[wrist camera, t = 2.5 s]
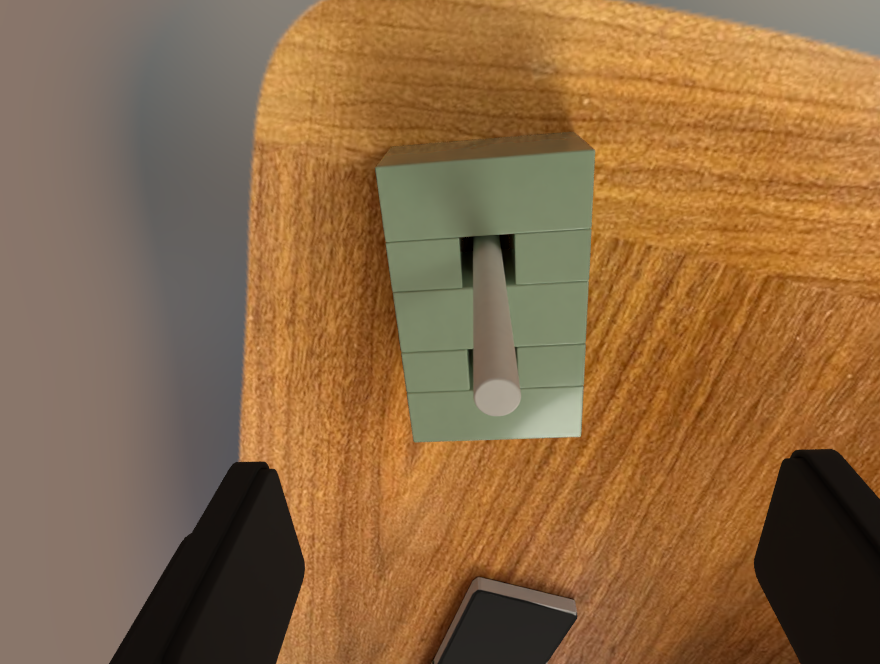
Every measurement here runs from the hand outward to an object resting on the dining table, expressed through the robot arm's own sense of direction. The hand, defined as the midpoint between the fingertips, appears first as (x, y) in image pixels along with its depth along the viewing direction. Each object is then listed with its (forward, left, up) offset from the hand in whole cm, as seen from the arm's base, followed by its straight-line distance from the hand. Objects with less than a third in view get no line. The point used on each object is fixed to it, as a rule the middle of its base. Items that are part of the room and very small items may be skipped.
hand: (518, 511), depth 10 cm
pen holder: (0, -3, -18) cm, 18 cm away
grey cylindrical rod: (0, 0, -18) cm, 18 cm away
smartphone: (-1, -34, -18) cm, 38 cm away
